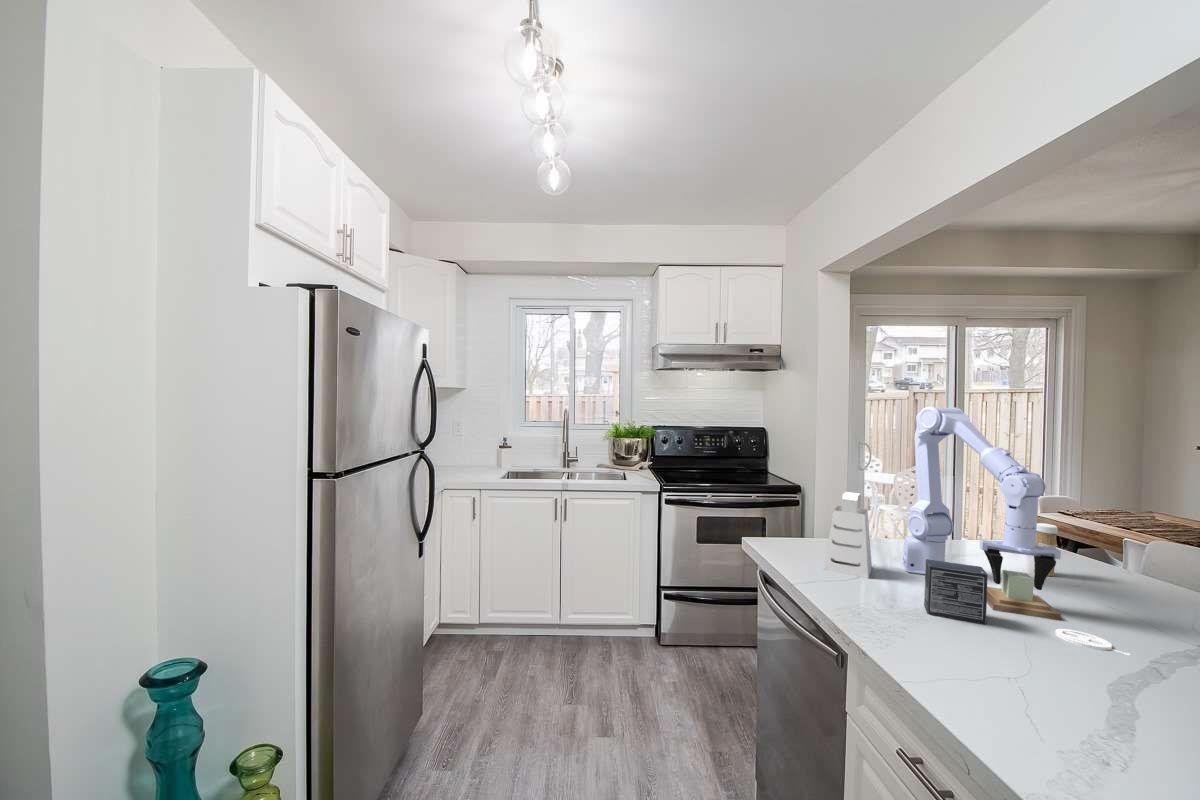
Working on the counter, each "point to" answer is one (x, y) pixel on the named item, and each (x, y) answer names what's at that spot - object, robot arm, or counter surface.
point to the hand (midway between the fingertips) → (1017, 585)
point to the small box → (956, 591)
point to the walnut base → (1020, 605)
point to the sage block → (1017, 585)
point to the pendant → (1085, 639)
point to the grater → (849, 538)
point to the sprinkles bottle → (1046, 538)
